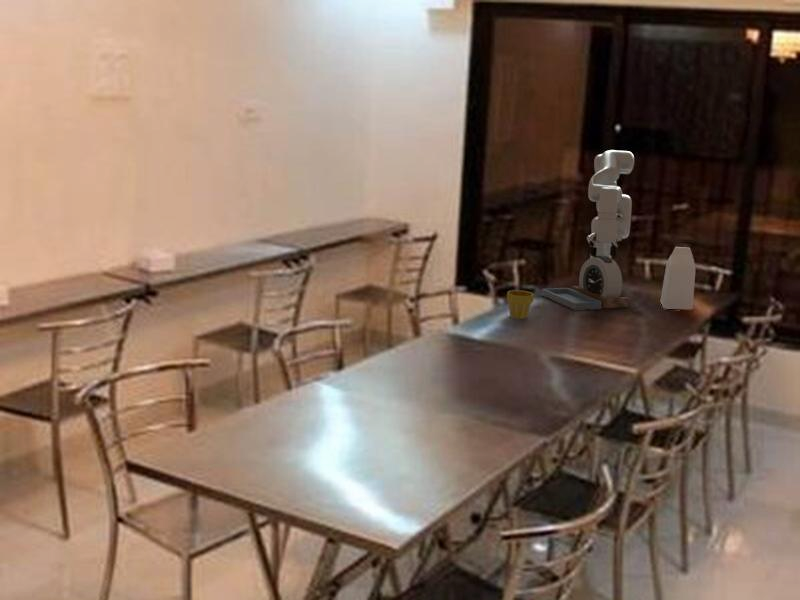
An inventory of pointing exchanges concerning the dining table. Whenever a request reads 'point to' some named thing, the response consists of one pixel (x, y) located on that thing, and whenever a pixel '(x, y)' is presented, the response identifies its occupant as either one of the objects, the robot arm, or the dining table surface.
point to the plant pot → (519, 303)
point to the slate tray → (572, 298)
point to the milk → (679, 280)
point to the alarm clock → (601, 277)
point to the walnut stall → (604, 299)
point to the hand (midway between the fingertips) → (602, 256)
